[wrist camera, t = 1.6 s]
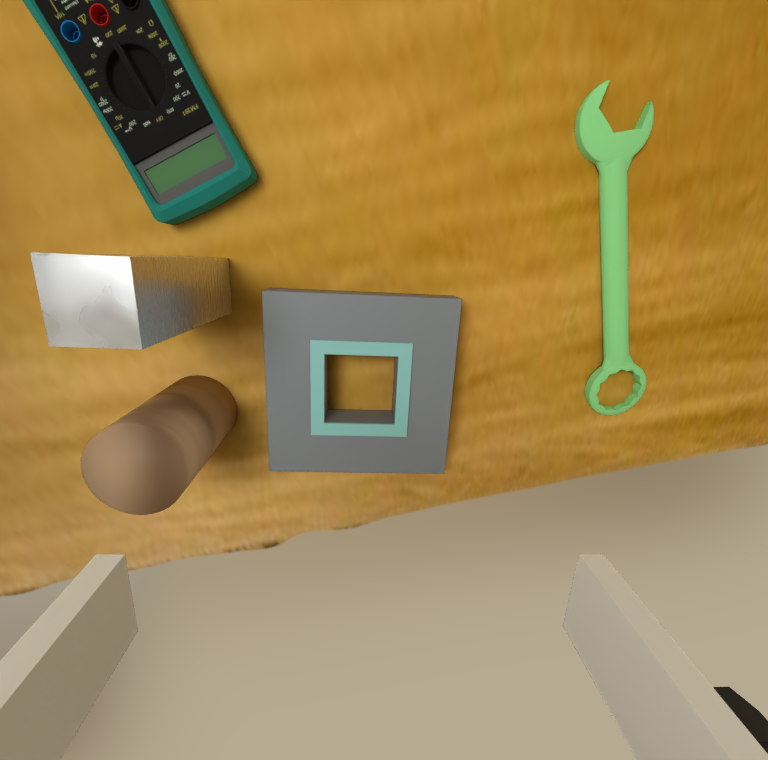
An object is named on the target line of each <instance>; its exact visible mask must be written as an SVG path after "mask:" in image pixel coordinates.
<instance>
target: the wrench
mask: <svg viewBox="0 0 768 760" xmlns="http://www.w3.org/2000/svg"><path fill="white" fill-rule="evenodd" d="M608 83H609V80H607V81H605V82H603V83H602V84H600V85H599V86H598V87H596V88H595V89H594V90H593V91H591V92H590V93H589V95H588V96H587V97H586V98H585V100H584V101H583V103H582V105H581V106H580V109H579V111H578V114H577V117H576V122H575V138H576V142H577V146H578V148H579V150H580V152H581V153H582V155H583V156H584V157H585V158H586V159H587V160H588V161H590V162H591V163H593V164H595V166H596V168H597V170H598V172H599V203H600V242H601V280H602V318H603V355H604V361H603V363H602V366H601V367H599V368H598V369H597V370H596V371H594V373H593V374H592V375H591V376H590V378H589V379H588V381H587V384H586V386H585V397H586V400H587V402H588V404H589V405H590V406H591V407H592V408H593V409H594V410H595V411H596V412H598V413H600V414H604V415H616V414H619V413H622V412H624V411H626V410H628V409H630V408H631V407H632V406H634V405H635V404H636V403H637V402H638V401H639V399H640V398H641V396H642V395H643V393H644V391H645V387H646V375H645V373H644V371H643V370H642V369H641V368H640V367H639V366H637V365H636V364H634V362H633V360H632V358H631V356H630V355H629V320H628V199H627V171H628V169H629V166H630V163H631V161H632V158H633V156H634V155H635V154H637V153H638V152H639V151H640V149H641V148H642V147H643V146H644V144H645V143H646V141H647V139H648V137H649V135H650V133H651V129H652V125H653V118H654V110H653V104H652V101H650V102H648V103H646V106H645V108H644V110H643V112H642V114H641V116H640V118H639V120H638V123H637V125H636V127H635V129H634V130H628V131H622V132H617V133H614V132H613V131H612V129H611V127H610V125H609V124H608V122H607V120H606V119H605V117H604V116H603V114H602V112H601V111H600V109H599V106H600V104H601V101H602V99H603V96H604V94H605V91H606V89H607V86H608ZM621 369H622V370H625V371H631V372H632V373H633V379H634V380H635V384H634V386H633V393H632V394H631V395H630V396H628V397H627V399H626V401H625V402H624V403H620V404H617V405H616V406H615V407H610V406H603V405H601V404H600V403H599V399H598V397H597V395H596V394H597V393H598V391H599V390H600V384H601V383H602V382H604V381H605V380H606V379H607V377H608V376H609V374H615V373H617V372H618V371H620V370H621Z"/></svg>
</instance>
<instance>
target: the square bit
mask: <svg viewBox="0 0 768 760" xmlns="http://www.w3.org/2000/svg"><path fill="white" fill-rule="evenodd" d="M30 254H31V259H32V264H33V269H34V274H35V279H36V284H37V289H38V294H39V299H40V304H41V309H42V313H43V318H44V323H45V328H46V333H47V338H48V343H49V346H52V347H83V348H114V349H144V348H147V347H149V346H152V345H154V344H157V343H159V342H162V341H164V340H167V339H169V338H171V337H174V336H176V335H179V334H181V333H184V332H186V331H189V330H191V329H194V328H196V327H198V326H201V325H203V324H206V323H208V322H211V321H213V320H216V319H218V318H221V317H223V316H226V315H228V314H230V313H232V304H231V289H230V273H229V258H210V257H189V256H164V255H121V254H79V253H37V252H30Z"/></svg>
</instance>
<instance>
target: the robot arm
mask: <svg viewBox="0 0 768 760" xmlns="http://www.w3.org/2000/svg"><path fill="white" fill-rule="evenodd" d="M563 627H564V628H565V630H566V632H567V634H568V636H569V638H570V639H571V641H572V643H573V645H574V647H575V649H576V650H577V652H578V654H579V656H580V658H581V659H582V661H583V663H584V665H585V667H586V669H587V670H588V672H589V674H590V676H591V678H592V679H593V681H594V683H595V685H596V687H597V689H598V690H599V692H600V694H601V696H602V697H603V699H604V701H605V703H606V705H607V707H608V708H609V710H610V712H611V714H612V716H613V718H614V719H615V721H616V723H617V725H618V727H619V728H620V730H621V732H622V734H623V736H624V737H625V739H626V741H627V743H628V745H629V747H630V748H631V750H632V752H633V754H634V756H635V758H636V759H637V760H768V721H767V720H766V718H765V717H764V716H763V715H762V714H761V713H760V712H759V711H758V710H757V709H756V708H754V707H753V706H752V705H751V704H750V703H748V702H747V701H746V700H745V699H743V698H742V697H741V696H740V695H738V694H737V693H736V692H735V691H733V690H732V689H731V688H730V687H712V686H711V685H710V683H709V682H708V681H707V679H706V678H705V677H704V676H703V675H702V673H700V671H699V670H698V669H697V667H696V666H695V665H694V664H693V662H692V661H691V660H690V659H689V658H688V656H687V655H686V654H685V653H684V652H683V650H682V649H681V648H680V647H679V645H678V644H677V643H676V642H675V641H674V639H673V638H672V637H671V636H670V635H669V633H668V632H667V631H666V630H665V628H664V627H663V626H662V625H661V624H660V622H659V621H658V620H657V619H656V617H655V616H654V615H653V614H652V613H651V611H650V610H649V609H648V608H647V606H646V605H645V604H644V603H643V602H642V600H641V599H640V598H639V597H638V596H637V594H636V593H635V592H634V591H633V589H632V588H631V587H630V586H629V585H628V583H627V582H626V581H625V580H624V579H623V577H622V576H621V575H620V574H619V572H618V571H617V570H616V569H615V568H614V566H613V565H612V564H611V563H610V561H609V560H608V559H607V558H606V557H605V555H604V554H579V556H578V561H577V565H576V569H575V574H574V579H573V583H572V587H571V592H570V596H569V600H568V605H567V609H566V614H565V618H564V622H563ZM137 631H138V628H137V622H136V617H135V611H134V605H133V599H132V593H131V588H130V582H129V576H128V570H127V564H126V559H125V554H96V555H95V556H94V557H93V558H92V559H91V560H90V562H89V563H88V564H87V565H86V566H85V567H84V568H83V569H82V570H81V572H80V573H79V574H78V575H77V576H76V577H75V578H74V579H73V580H72V582H71V583H70V584H69V585H68V586H67V587H66V588H65V589H64V591H63V592H62V593H61V594H60V595H59V596H58V597H57V598H56V599H55V600H54V602H53V603H52V604H51V605H50V606H49V607H48V608H47V609H46V610H45V612H44V613H43V614H42V615H41V616H40V617H39V618H38V619H37V620H36V622H35V623H34V624H33V625H32V626H31V627H30V628H29V630H27V631H26V633H25V634H24V635H23V636H22V637H21V638H20V639H19V640H18V641H17V643H16V644H15V645H14V646H13V647H12V648H11V649H10V650H9V651H8V653H7V654H6V655H5V656H4V657H3V658H2V659H1V660H0V760H60V759H61V758H62V756H63V754H64V752H65V751H66V749H67V748H68V746H69V744H70V742H71V741H72V739H73V738H74V736H75V734H76V733H77V731H78V729H79V728H80V726H81V724H82V723H83V721H84V719H85V718H86V716H87V714H88V713H89V711H90V709H91V708H92V706H93V704H94V703H95V701H96V699H97V698H98V696H99V694H100V693H101V691H102V689H103V688H104V686H105V685H106V683H107V681H108V680H109V678H110V676H111V674H112V673H113V671H114V670H115V668H116V666H117V665H118V663H119V661H120V660H121V658H122V656H123V655H124V653H125V651H126V650H127V648H128V646H129V645H130V643H131V641H132V640H133V638H134V636H135V635H136V633H137Z"/></svg>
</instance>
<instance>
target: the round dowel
mask: <svg viewBox="0 0 768 760" xmlns="http://www.w3.org/2000/svg"><path fill="white" fill-rule="evenodd" d="M236 418H237V406H236V402H235V400H234V397H233V396H232V394H231V393H230V391H229V390H228V389H227V388H226V387H225V386H224V385H223V384H221V383H220V382H218V381H217V380H214V379H212V378H209V377H205V376H198V375H197V376H188V377H185V378H182V379H180V380H178V381H177V382H175V383H174V384H172V385H171V386H169V387H168V388H166V389H165V390H163V391H161V392H160V393H158V394H157V395H155V396H154V397H152V398H151V399H149V400H148V401H146V402H145V403H143V404H142V405H140V406H139V407H137V408H136V409H134V410H133V411H131V412H130V413H128V414H126V415H125V416H123V417H122V418H120V419H119V420H117V421H116V422H114V423H113V424H111V425H110V426H108V427H107V428H105V429H104V430H102V431H101V432H99V433H98V434H96V435H95V436H94V437H92V438H91V439H90V441H89V442H88V443H87V445H86V446H85V448H84V450H83V453H82V457H81V471H82V475H83V478H84V480H85V483H86V484H87V486H88V488H89V489H90V490H91V492H92V493H93V494H94V495H95V496H96V497H97V498H98V499H99V500H100V501H102V502H103V503H105V504H106V505H108V506H109V507H111V508H113V509H116V510H118V511H121V512H124V513H128V514H135V515H147V514H153V513H157V512H160V511H162V510H165V509H166V508H168V507H170V506H171V505H172V504H173V503H175V502H176V500H177V499H178V498H179V497H180V496H181V494H182V493H183V492H184V490H185V489H186V488H187V486H188V485H189V484H190V483H191V481H192V480H193V479H194V477H195V476H196V475H197V473H198V472H199V471H200V470H201V468H202V467H203V466H204V464H205V463H206V462H207V460H208V459H209V458H210V457H211V455H212V454H213V453H214V451H215V450H216V449H217V447H218V446H219V445H220V444H221V442H222V441H223V440H224V438H225V437H226V436H227V434H228V433H229V432H230V431H231V429H232V428H233V426H234V424H235V422H236Z"/></svg>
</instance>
